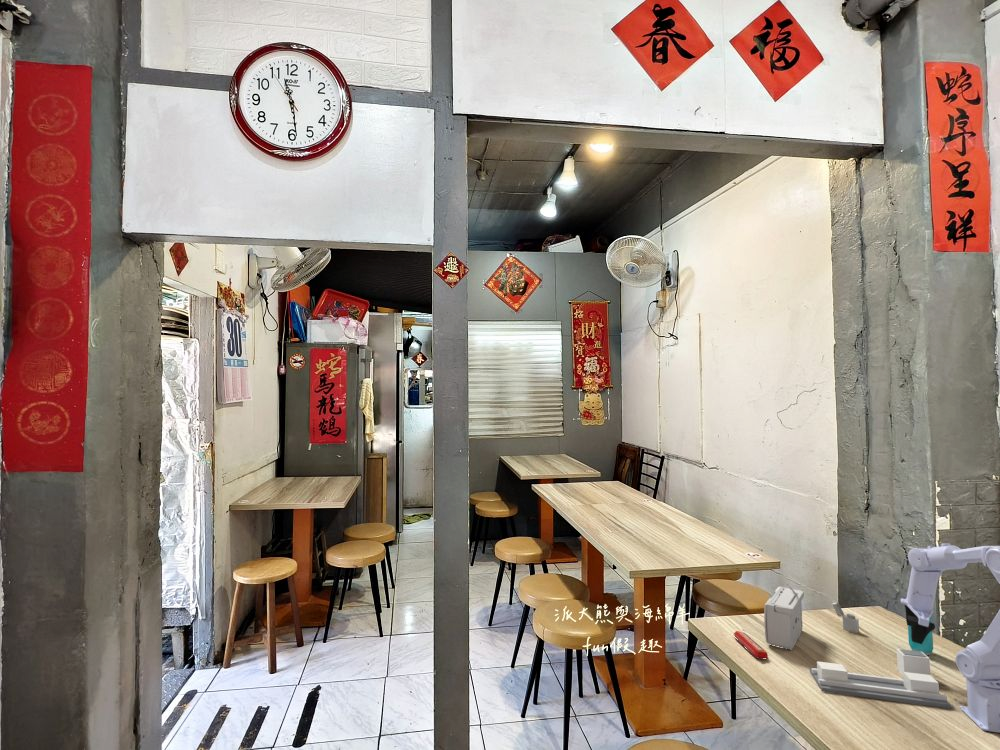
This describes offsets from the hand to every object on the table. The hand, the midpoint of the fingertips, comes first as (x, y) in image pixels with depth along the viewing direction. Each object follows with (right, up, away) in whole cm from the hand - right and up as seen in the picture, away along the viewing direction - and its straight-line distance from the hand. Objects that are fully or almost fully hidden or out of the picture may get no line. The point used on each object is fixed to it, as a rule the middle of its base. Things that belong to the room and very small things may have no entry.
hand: (914, 633), depth 142 cm
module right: (-7, -10, -11) cm, 17 cm away
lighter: (0, -13, +28) cm, 31 cm away
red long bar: (-38, -13, +15) cm, 43 cm away
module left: (-26, -11, -5) cm, 29 cm away
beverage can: (+12, -12, +12) cm, 21 cm away
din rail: (-17, -11, -8) cm, 21 cm away
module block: (-1, -11, -1) cm, 11 cm away
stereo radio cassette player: (-24, -13, +22) cm, 35 cm away
